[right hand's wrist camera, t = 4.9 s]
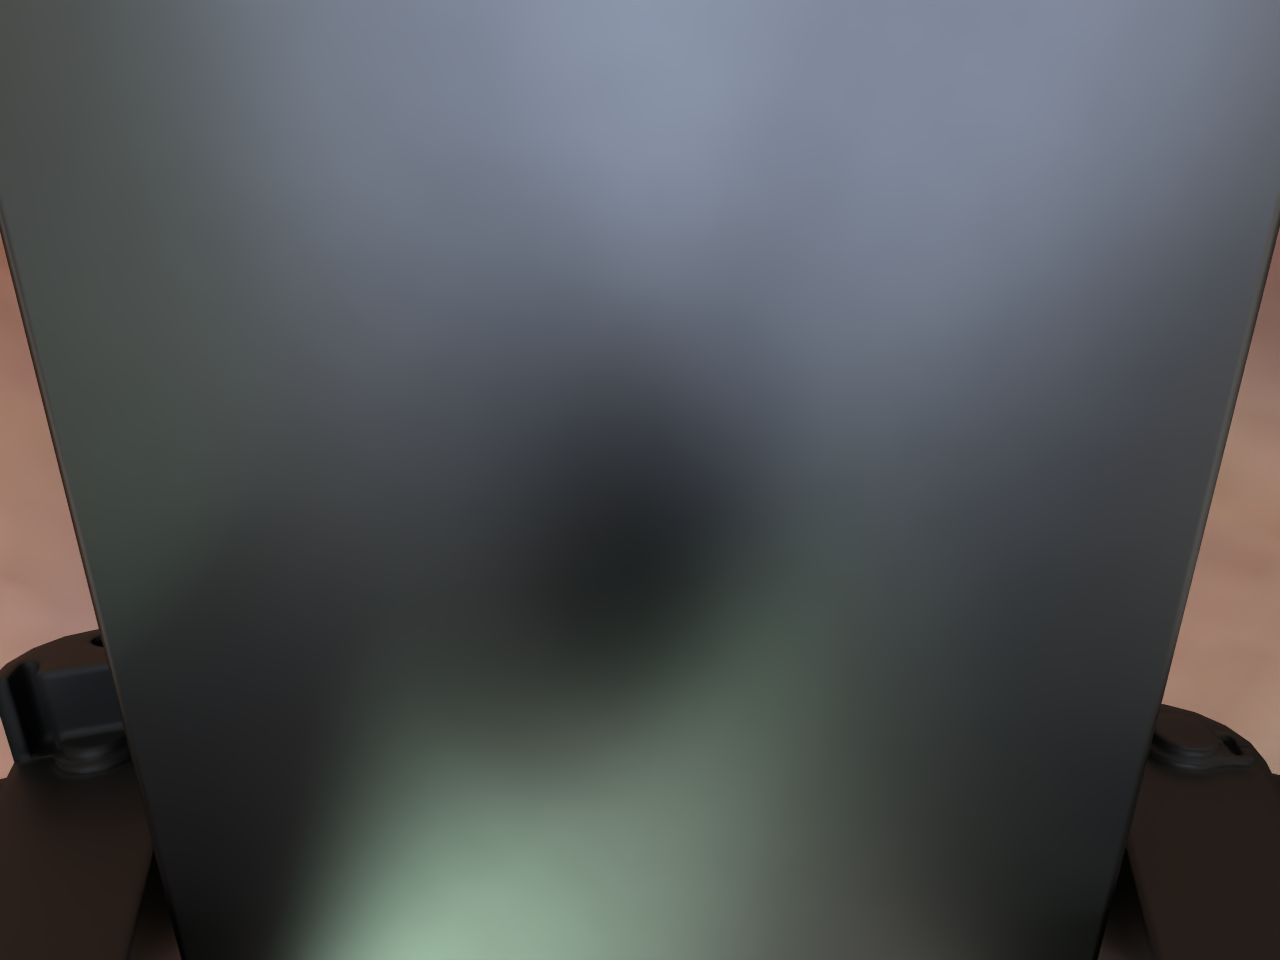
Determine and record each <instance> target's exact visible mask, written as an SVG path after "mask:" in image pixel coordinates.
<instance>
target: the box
mask: <svg viewBox="0 0 1280 960" xmlns="http://www.w3.org/2000/svg"><path fill="white" fill-rule="evenodd" d="M1279 227H1280V0H0V233H1V237H2V241H3V245H4V249H5V253H6V257H7V261H8V265H9V269H10V273H11V277H12V281H13V285H14V289H15V293H16V297H17V301H18V305H19V309H20V313H21V317H22V321H23V325H24V329H25V333H26V337H27V341H28V345H29V349H30V353H31V357H32V361H33V366H34V370H35V374H36V378H37V382H38V386H39V390H40V394H41V398H42V402H43V406H44V410H45V414H46V418H47V422H48V426H49V430H50V434H51V438H52V442H53V446H54V450H55V454H56V458H57V462H58V466H59V470H60V474H61V478H62V482H63V486H64V490H65V494H66V498H67V502H68V506H69V510H70V514H71V518H72V522H73V526H74V530H75V534H76V538H77V542H78V546H79V551H80V555H81V559H82V563H83V567H84V571H85V575H86V579H87V583H88V587H89V591H90V595H91V599H92V603H93V607H94V611H95V615H96V619H97V623H98V627H99V631H100V635H101V639H102V643H103V647H104V651H105V655H106V659H107V663H108V667H109V671H110V675H111V679H112V683H113V687H114V691H115V695H116V699H117V703H118V707H119V711H120V715H121V719H122V723H123V727H124V731H125V736H126V740H127V744H128V748H129V752H130V756H131V760H132V764H133V768H134V772H135V776H136V780H137V784H138V788H139V792H140V796H141V800H142V804H143V808H144V812H145V816H146V820H147V824H148V828H149V832H150V836H151V840H152V844H153V848H154V852H155V856H156V860H157V864H158V868H159V872H160V876H161V880H162V884H163V888H164V892H165V896H166V900H167V904H168V908H169V912H170V917H171V921H172V925H173V929H174V933H175V937H176V941H177V945H178V949H179V953H180V957H181V960H1098V957H1099V953H1100V949H1101V945H1102V941H1103V937H1104V933H1105V929H1106V924H1107V920H1108V916H1109V912H1110V908H1111V904H1112V900H1113V896H1114V892H1115V888H1116V884H1117V880H1118V876H1119V872H1120V868H1121V864H1122V860H1123V856H1124V852H1125V848H1126V844H1127V840H1128V836H1129V832H1130V828H1131V824H1132V820H1133V816H1134V812H1135V808H1136V804H1137V800H1138V795H1139V791H1140V787H1141V783H1142V779H1143V775H1144V771H1145V767H1146V763H1147V759H1148V755H1149V751H1150V747H1151V743H1152V739H1153V735H1154V731H1155V727H1156V723H1157V719H1158V715H1159V711H1160V707H1161V703H1162V699H1163V695H1164V691H1165V687H1166V683H1167V679H1168V675H1169V670H1170V666H1171V662H1172V658H1173V654H1174V650H1175V646H1176V642H1177V638H1178V634H1179V630H1180V626H1181V622H1182V618H1183V614H1184V610H1185V606H1186V602H1187V598H1188V594H1189V590H1190V586H1191V582H1192V578H1193V574H1194V570H1195V566H1196V562H1197V558H1198V554H1199V550H1200V546H1201V541H1202V537H1203V533H1204V529H1205V525H1206V521H1207V517H1208V513H1209V509H1210V505H1211V501H1212V497H1213V493H1214V489H1215V485H1216V481H1217V477H1218V473H1219V469H1220V465H1221V461H1222V457H1223V453H1224V449H1225V445H1226V441H1227V437H1228V433H1229V429H1230V425H1231V421H1232V417H1233V412H1234V408H1235V404H1236V400H1237V396H1238V392H1239V388H1240V384H1241V380H1242V376H1243V372H1244V368H1245V364H1246V360H1247V356H1248V352H1249V348H1250V344H1251V340H1252V336H1253V332H1254V328H1255V324H1256V320H1257V316H1258V312H1259V308H1260V304H1261V300H1262V296H1263V292H1264V287H1265V283H1266V279H1267V275H1268V271H1269V267H1270V263H1271V259H1272V255H1273V251H1274V247H1275V243H1276V239H1277V235H1278V231H1279Z"/></svg>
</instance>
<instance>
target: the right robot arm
mask: <svg viewBox="0 0 1280 960" xmlns="http://www.w3.org/2000/svg"><path fill="white" fill-rule="evenodd" d="M0 717H1V720H2V723H3V726H4V730H5V733H6V736H7V740H8V743H9V746H10V749H11V753H12V756H13V759H14V762H15V763H14V765H13V767H12V768H11V770H10V772H9V774H8V776H7V778H4V779H0V960H181V957H180V953H179V949H178V945H177V941H176V937H175V933H174V929H173V925H172V921H171V917H170V912H169V908H168V904H167V900H166V896H165V892H164V888H163V884H162V880H161V876H160V872H159V868H158V864H157V860H156V856H155V852H154V848H153V844H152V840H151V836H150V832H149V828H148V824H147V820H146V816H145V812H144V808H143V804H142V800H141V796H140V792H139V788H138V784H137V780H136V776H135V772H134V768H133V764H132V760H131V756H130V752H129V748H128V744H127V740H126V736H125V731H124V727H123V723H122V719H121V715H120V711H119V707H118V703H117V699H116V695H115V691H114V687H113V683H112V679H111V675H110V671H109V667H108V663H107V659H106V655H105V651H104V647H103V643H102V639H101V635H100V631H99V629H97V630H93V631H88V632H83V633H79V634H74V635H70V636H65V637H62V638H60V639H57V640H54V641H52V642H49V643H46V644H44V645H41V646H38V647H36V648H33V649H31V650H30V651H28V652H26V653H24V654H23V655H21V656H19V657H17V658H16V659H14V660H12V661H11V662H9V663H7V664H6V665H5V666H4V667H3V668H2V669H1V670H0ZM1098 960H1280V775H1277V774H1273V773H1271V771H1270V769H1269V767H1268V765H1267V763H1266V761H1265V760H1264V759H1263V757H1262V756H1261V755H1260V754H1259V753H1258V751H1257V750H1256V749H1255V748H1254V747H1253V745H1252V744H1251V743H1250V742H1249V741H1247V740H1246V739H1244V738H1243V737H1241V736H1240V735H1238V734H1237V733H1235V732H1234V731H1233V730H1231V729H1230V728H1228V727H1227V726H1225V725H1223V724H1221V723H1218V722H1216V721H1214V720H1212V719H1209V718H1207V717H1205V716H1202V715H1200V714H1198V713H1196V712H1192V711H1188V710H1184V709H1180V708H1176V707H1172V706H1168V705H1164V704H1161V707H1160V711H1159V715H1158V719H1157V723H1156V727H1155V731H1154V735H1153V739H1152V743H1151V747H1150V751H1149V755H1148V759H1147V763H1146V767H1145V771H1144V775H1143V779H1142V783H1141V787H1140V791H1139V795H1138V800H1137V804H1136V808H1135V812H1134V816H1133V820H1132V824H1131V828H1130V832H1129V836H1128V840H1127V844H1126V848H1125V852H1124V856H1123V860H1122V864H1121V868H1120V872H1119V876H1118V880H1117V884H1116V888H1115V892H1114V896H1113V900H1112V904H1111V908H1110V912H1109V916H1108V920H1107V924H1106V929H1105V933H1104V937H1103V941H1102V945H1101V949H1100V953H1099V957H1098Z"/></svg>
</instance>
